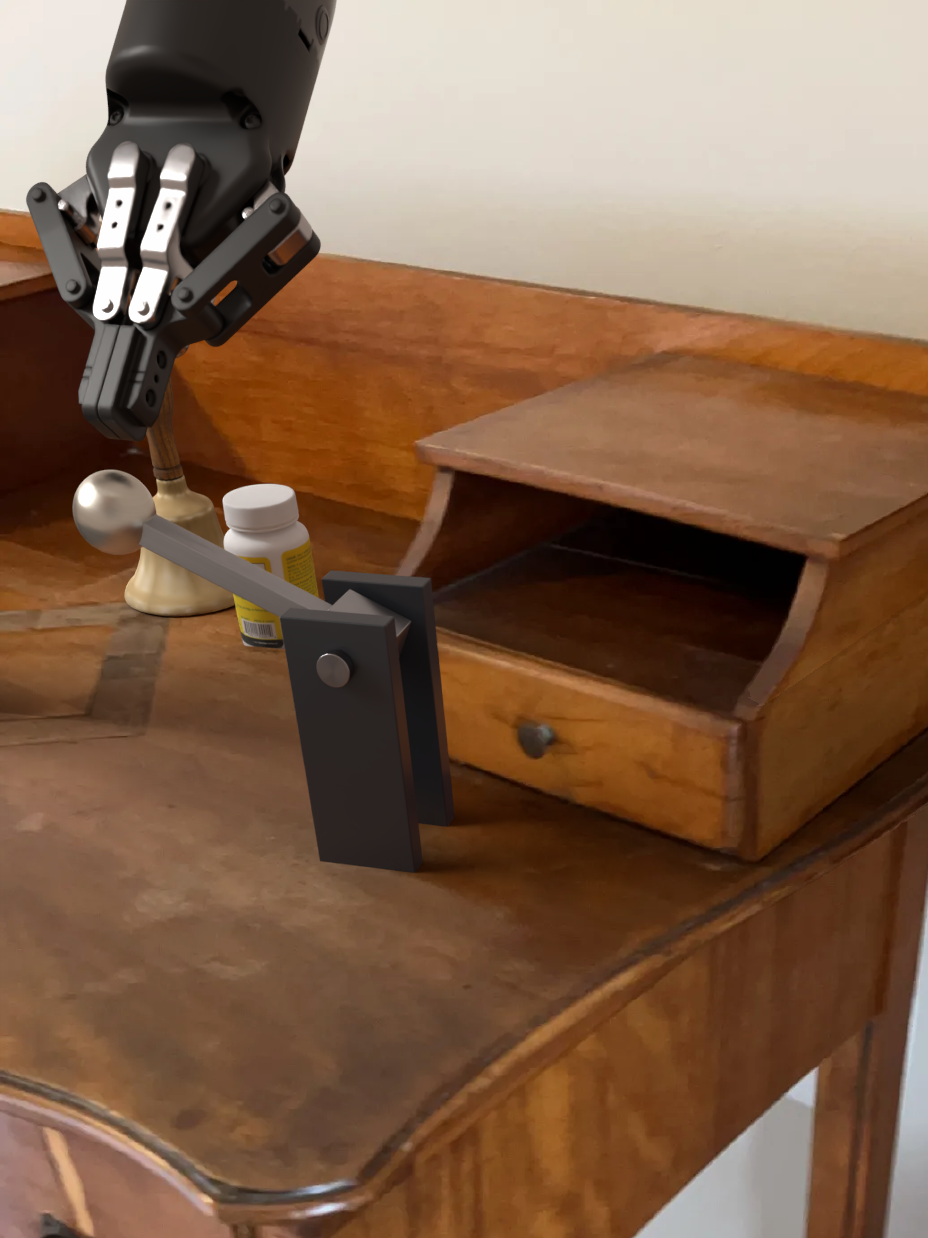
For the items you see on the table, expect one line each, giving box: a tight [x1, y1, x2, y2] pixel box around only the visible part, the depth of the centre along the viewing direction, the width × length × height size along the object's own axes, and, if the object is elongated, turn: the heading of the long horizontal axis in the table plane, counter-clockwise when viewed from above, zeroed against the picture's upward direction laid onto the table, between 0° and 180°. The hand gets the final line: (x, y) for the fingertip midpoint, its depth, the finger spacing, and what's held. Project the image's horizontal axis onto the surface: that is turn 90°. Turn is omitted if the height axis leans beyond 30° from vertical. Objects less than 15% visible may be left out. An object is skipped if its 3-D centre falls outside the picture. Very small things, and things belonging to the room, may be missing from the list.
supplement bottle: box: [222, 483, 320, 650], centre depth 86 cm, size 5×5×8 cm
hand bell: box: [123, 374, 235, 617], centre depth 91 cm, size 8×8×16 cm
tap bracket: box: [280, 570, 456, 874], centre depth 64 cm, size 8×8×13 cm
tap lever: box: [72, 469, 411, 657], centre depth 61 cm, size 14×3×3 cm, turn 75°
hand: (111, 429), depth 60 cm, fingers closed
